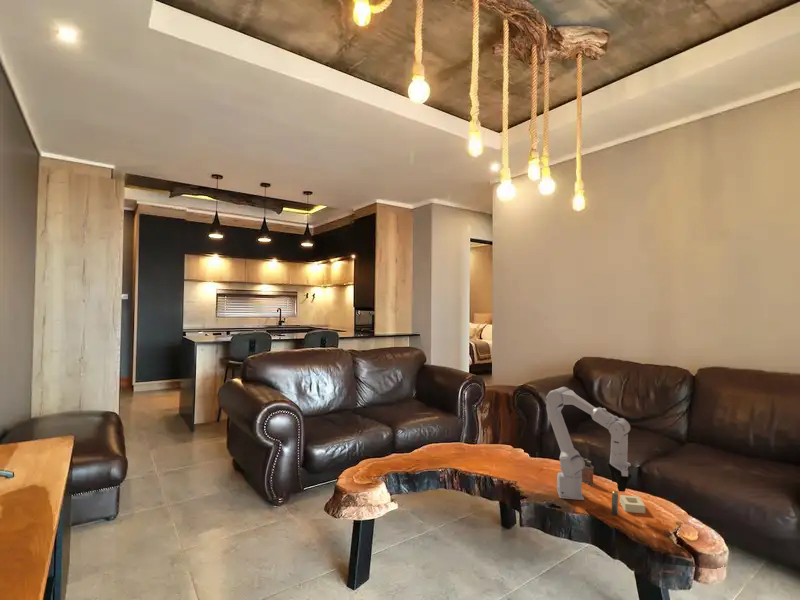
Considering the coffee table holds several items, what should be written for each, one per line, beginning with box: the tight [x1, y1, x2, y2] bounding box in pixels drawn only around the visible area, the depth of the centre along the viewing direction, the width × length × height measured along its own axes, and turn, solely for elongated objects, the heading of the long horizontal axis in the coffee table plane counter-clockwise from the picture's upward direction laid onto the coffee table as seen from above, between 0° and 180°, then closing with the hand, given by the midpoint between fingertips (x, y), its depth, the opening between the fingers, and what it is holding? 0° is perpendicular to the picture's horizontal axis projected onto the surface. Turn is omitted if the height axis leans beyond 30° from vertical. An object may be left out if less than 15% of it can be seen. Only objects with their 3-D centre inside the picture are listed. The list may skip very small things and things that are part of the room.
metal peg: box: [611, 490, 619, 516], centre depth 161 cm, size 2×2×9 cm
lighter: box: [582, 457, 595, 486], centre depth 187 cm, size 8×3×10 cm, turn 30°
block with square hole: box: [619, 494, 646, 514], centre depth 165 cm, size 7×7×3 cm
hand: (618, 486), depth 161 cm, fingers open, 7 cm apart
